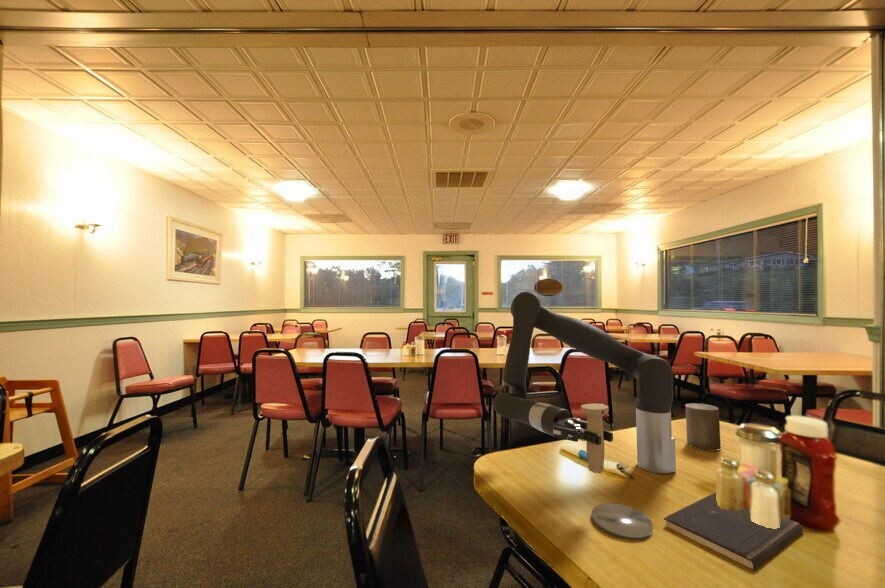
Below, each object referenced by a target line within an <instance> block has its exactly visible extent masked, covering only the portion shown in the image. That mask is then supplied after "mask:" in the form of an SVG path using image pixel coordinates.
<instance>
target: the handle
mask: <svg viewBox="0 0 885 588" xmlns="http://www.w3.org/2000/svg"><path fill="white" fill-rule="evenodd" d="M580 411H581V412H582V414H584V415H585V416H586V421H587V431H590V432H593V433H596V434H599V435H600V436H601V444H600V445H596V444H593V443H591V442H588V441H586V458H587V464H588V465H587V466H588V470H589V472H592V473H593V474H602V473H603V471H604V467H605V466H604V464H605V455H606V454H605V452H606V451H605V450H606V449H605V440H604V435H603V429H604V424H603V417H604V416H605V415H608V413H609V405H606V404H604V403H603V404H601V403H586V404H585V403H584V404H582V405H580Z"/></svg>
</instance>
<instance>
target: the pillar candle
mask: <svg viewBox="0 0 885 588" xmlns="http://www.w3.org/2000/svg"><path fill="white" fill-rule="evenodd" d="M684 407H685V422H686V423H685V425H686V426H685V428H686V444H687V443H688V444H689V445H691V446H693V447H696V448H695V449H697V448H699V449H698V450H701V449H704V450H703V451H707V450H717V449H720V448H721V442H722V441H721V426H720V409H719V406H718V407H717V406H715V405H711V404H706V403H703V402H701V403H695V402H694V403H693V402H692V403H686V404H685V406H684ZM688 444H687V445H688ZM689 445H688V446H689ZM691 446H690V447H691ZM693 447H692V448H693ZM721 449H722V448H721Z"/></svg>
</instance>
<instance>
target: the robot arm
mask: <svg viewBox="0 0 885 588" xmlns="http://www.w3.org/2000/svg"><path fill="white" fill-rule="evenodd" d="M510 304H511V305H510V313H511V316H512V319H513V320H512V322H513V324H512V332H511V338H510V341H509V347H508V350H507V354H506V358H505V365H504V371H503V377H502V381H503V382H504V384H505V385H506V386H509V387H510V390H511V393H508V392H500V393H498V394H497V395H496V396H494V399H493V404H492V405H493V406H492V407H493V409H494V411H495V413H496V414H497V415H498V416H500V417H502V418H506V419H508V420H513V421H516V422H517V421H518V422H520V423H523V424H525V425H527V426H529V427H531V428H535V429H536V430H537V431H540V432H542V433H545V434H547V435H550V436H551V437H554V438H557V439H561V440H562V439H563V440H567V441H570V442H571V441H572V442H575V443H577V442H579V441H580V442H587V441H588V442H591V443H593V444H596V445H600V444H601V436H600V435H599V434H596V433H593V432H590V431H587V420H583V419H581V418H578V417H573V416H572V414H571V412H570V411H569V410H568V409H565V408H563V407H559V406H556V405H554V404H553V405H552V404H549V403H546V402H545V403H544V402H539V401H536V400H533V399H528V391H527V383H526V382H527V376H528V369H529V362H530V352H531V343H532V337H533V332H534V329H538V330H540V331H542V332H544V333H547V335H550V336H552V337H553V338H555V339H556V340H558V341H560V342H561V343H563V344H565V345H567V346H569V347H571V348H572V349H574V350H577V351H578V352H581V353H582V354H583V355H586V356H589V357H591V358H593V359H596V360H599V361H601V362H604V363H605V362H606V363H608V364H610V365H613V366H615V367H616V368H619V369H620V370H621V371H624V372H625V373H627V374H628V375H629V376H631V377H632V378H634V379H636V380H637V381H638V396H637V397H636V398H635V420H636V421H635V423H636V427H635V428H636V429H635V430H636V431H635V432H636V460H637V463H636V464H637V466H638V467H639V468H641V469H642V470H645V471H646V472H650V473H653V474H663V475H665V474H670V473H676V472H677V459H676V438H675V437H673V433H672V405H673V403H674V372H673V369H672V366H671V365H670V363H669V362H668V361H667V360H666V359H663V358H662V357H658V356H656V355H653V354H648V353H645V352H642V351H640V350H638V349H635V348H633V347H630V346H629V345H628V346H627V345H626V344H624V343H622V342H620V341H619V340H618V339H616V338H615V337H613V336H612V335H611V334H609V333H607V332H606V331H605V330H602V329H600V328H599V327H596V326H595V325H592V324H590V323H588V322H586V321H583V320H581V319H578V318H575V317H571V316H567V315H562V314H560V313H556V312H554V311H552V310H551V309H548V308H546V307H544V306H543V305H542V304H541V301H540V298H539V297H538V295H536V294H535V293H533V292H531V291H522V292H519V293H518V294H517V295H516V296H515V297H513V300H512V302H511V303H510ZM603 435H604V441H606V442H609V443H611V442H613V441H614V433H613V432H612V431H611V430H606V429H604V428H603Z"/></svg>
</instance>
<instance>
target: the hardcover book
mask: <svg viewBox="0 0 885 588" xmlns="http://www.w3.org/2000/svg"><path fill="white" fill-rule="evenodd" d="M716 492H717V491H716ZM716 492H713V493H711V494H710V495H707V496H706V497H704V498H701V499H699V500H698V501H695V502H693V503H691V504H690V505H687V506H685V507H683V508H681V509H679V510H677V511H675V512H673V513H671V514H669V515H667V516H665V517H663V520H665V522H666V523H665V525H666V527H667V528H669V529H671V530H672V529H673V531H675V532H677V533H678V534H681V535H683V536H685V537H686V538H689V539H691V540H693V541H695V542H696V543H699V544H700V545H703V546H705V547H707V546H708V547H707V548H709V549H710V550H713V551H715V552H717V553H718V554H721V555H723V556H725V557H727V558H728V559H731V560H733V561H735V562H737V563H739V564H741V565H743V566H745V567H746V568H749V569H750V570H752V571H755V569H756V570H757V569H758V568H759V567H761V566H762V565H763V564H765V563H766V562H767V561H768V560H770V559H771V558H772V557H773V556H774V555H776V554H777V553H779V552H780V551H781V550H782V549H784V548H785V547H786V546H787V545H788V544H790V543H792V542H793V541H794V540H795V539H796V538H798V537H799V536H800V535H801V534H803V526H802V525H801V523H800V522H797V521H795V520H793V519H789V518H786V517H784V516H781V517H782V518H781V524H780V528H777V529H772V528H766V527H764V526H761V525H758V524H756V523H754V522H752V521H751V519H750V513H749V509H748V508H745V509H744V510H740V511H734V510H726V509H722V508H720V507H719V506H718V505H717V501H716ZM799 534H800V535H799ZM798 535H799V536H798ZM794 538H795V539H794ZM793 539H794V540H793Z"/></svg>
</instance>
